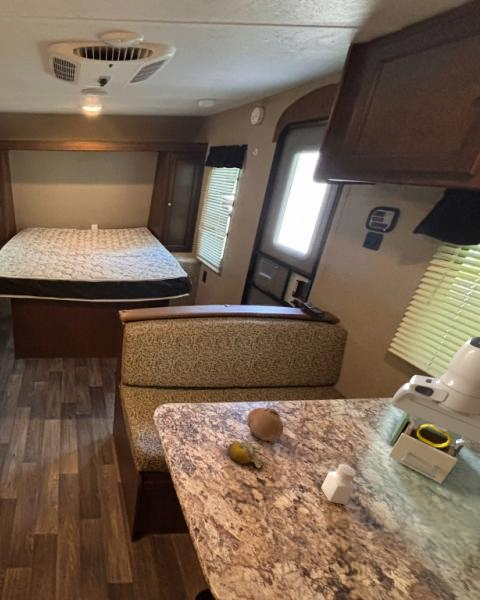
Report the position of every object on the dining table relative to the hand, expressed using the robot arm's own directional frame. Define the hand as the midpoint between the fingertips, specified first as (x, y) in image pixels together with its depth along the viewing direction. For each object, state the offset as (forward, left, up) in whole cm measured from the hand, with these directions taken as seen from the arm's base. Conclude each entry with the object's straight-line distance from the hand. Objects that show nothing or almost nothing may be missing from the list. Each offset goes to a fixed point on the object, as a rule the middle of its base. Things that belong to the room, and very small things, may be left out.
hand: (431, 437), depth 84 cm
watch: (0, 0, -2) cm, 2 cm away
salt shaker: (-5, +32, -10) cm, 34 cm away
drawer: (0, 0, -9) cm, 9 cm away
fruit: (+8, +47, -10) cm, 49 cm away
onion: (+15, +37, -10) cm, 41 cm away
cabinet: (+6, -10, -10) cm, 15 cm away
